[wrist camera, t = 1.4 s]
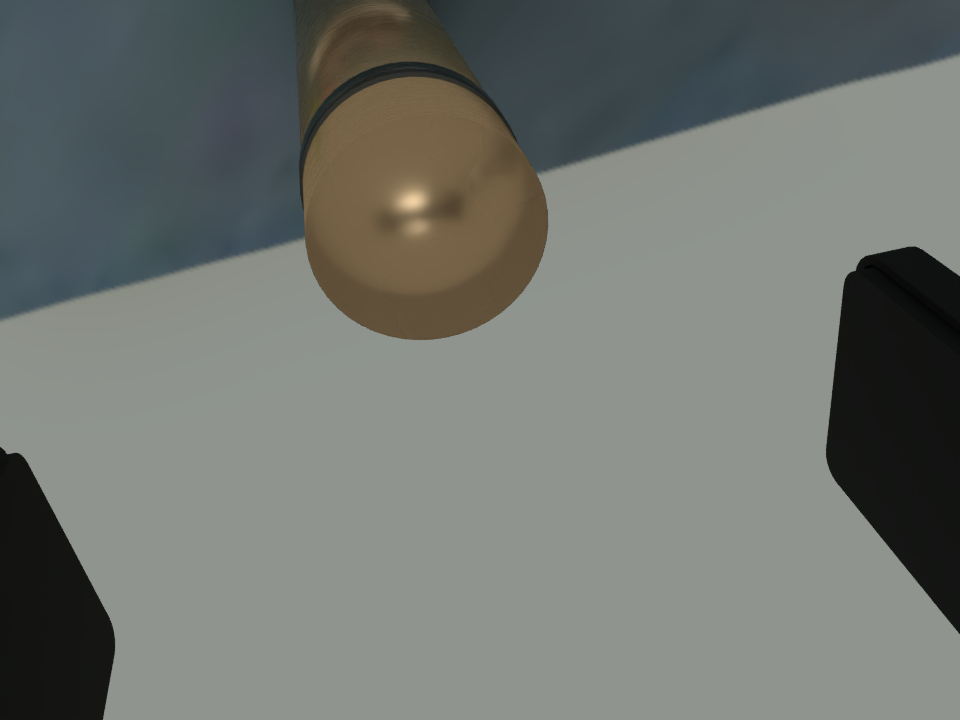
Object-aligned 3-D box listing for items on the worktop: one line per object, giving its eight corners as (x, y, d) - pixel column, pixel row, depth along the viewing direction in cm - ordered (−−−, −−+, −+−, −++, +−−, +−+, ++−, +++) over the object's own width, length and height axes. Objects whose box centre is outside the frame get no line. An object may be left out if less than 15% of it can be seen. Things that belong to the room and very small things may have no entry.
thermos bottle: (406, -74, 29) (539, 89, 14) (427, 56, 31) (560, 316, 16) (278, -52, 28) (273, 139, 14) (308, 78, 31) (333, 363, 16)
